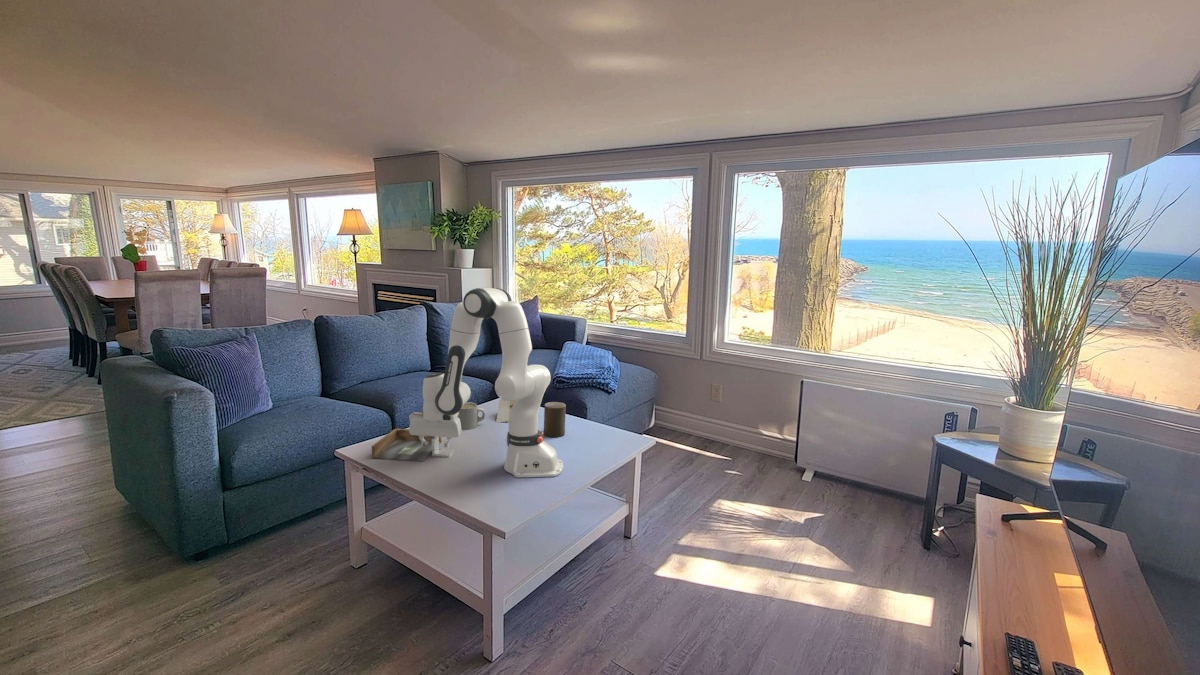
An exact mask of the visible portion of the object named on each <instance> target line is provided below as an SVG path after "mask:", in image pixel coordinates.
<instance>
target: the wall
mask: <svg viewBox="0 0 1200 675" xmlns="http://www.w3.org/2000/svg"><path fill="white" fill-rule="evenodd" d="M514 403H515V401H504V400H502V399H499V401H498V406H497V407H498V408H497V413H496V420H495V421H496V423H505V422H507V423H509V411H510V409H511V408H512V406H513V405H514Z"/></svg>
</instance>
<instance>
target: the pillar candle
mask: <svg viewBox="0 0 1200 675" xmlns="http://www.w3.org/2000/svg"><path fill="white" fill-rule="evenodd" d="M566 408H567V405H566V404H565V403H564V402H559V401H551V402H550V401H549V402H546V403H545V404H544V408H543V410H544V412H543V414H544V415H543V416H544V417H543V431H542V432H543V436H545V437H549V438H560V437H563V436H565V435H566V415H567V414H566V411H567V409H566Z"/></svg>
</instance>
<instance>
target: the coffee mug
mask: <svg viewBox="0 0 1200 675" xmlns="http://www.w3.org/2000/svg"><path fill="white" fill-rule="evenodd" d="M479 412H481V414H482V415H481V417H479ZM485 417H486V411H485V409H484V408H481V407H478V404H477V403H476V402H472V401H471V402H469V401H467V402H466V403H465V404H464V405H463V406H462V407H461V409H460V410H459V415H458V418H459V419H460V422H461V431H462V430H463V431H466V430H467V431H468V430H474V429H476V428H477V427H478V425H479V424H478V423H479V422H481V421H483V420H484V419H485Z"/></svg>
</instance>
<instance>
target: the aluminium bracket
mask: <svg viewBox="0 0 1200 675" xmlns="http://www.w3.org/2000/svg"><path fill="white" fill-rule="evenodd" d="M454 452H455V451H454V449H449V448H448V449H446V448H440V444H439V437H434V438H433V439H432V453H431V456H432V457H440V458H441V457H443V458H445V457H446V458H450V457H451V456H452V455H453V453H454Z"/></svg>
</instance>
